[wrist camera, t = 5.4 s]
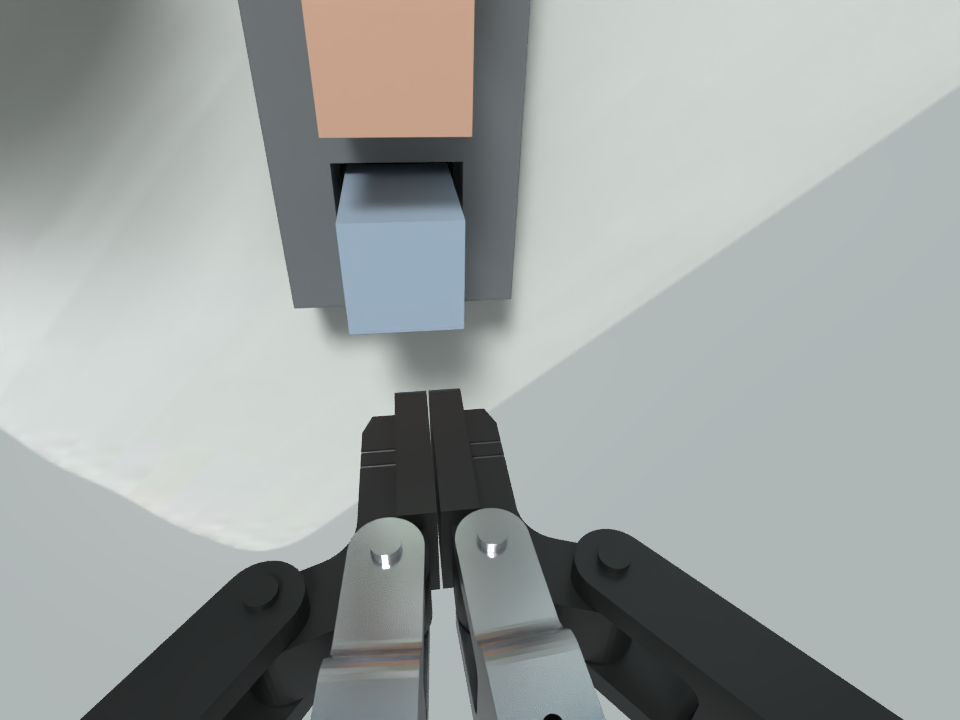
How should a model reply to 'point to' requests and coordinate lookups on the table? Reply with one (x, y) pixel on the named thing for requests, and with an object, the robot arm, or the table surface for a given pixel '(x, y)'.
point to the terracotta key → (391, 67)
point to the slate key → (401, 248)
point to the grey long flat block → (388, 149)
